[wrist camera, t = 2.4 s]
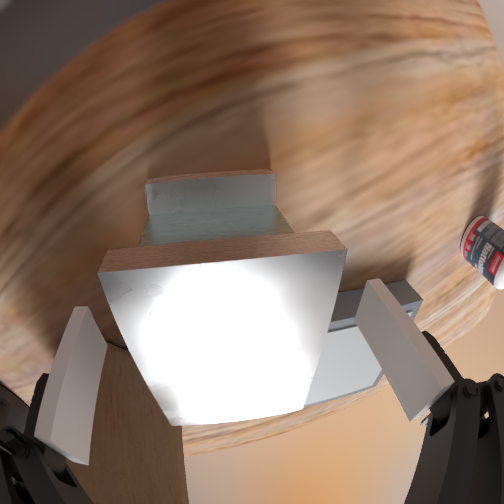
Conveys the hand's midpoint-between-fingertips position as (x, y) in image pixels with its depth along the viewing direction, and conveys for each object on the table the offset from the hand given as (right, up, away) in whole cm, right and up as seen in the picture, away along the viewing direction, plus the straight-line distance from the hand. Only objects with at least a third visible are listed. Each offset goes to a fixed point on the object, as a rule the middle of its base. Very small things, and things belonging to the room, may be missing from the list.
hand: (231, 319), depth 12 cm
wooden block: (-12, -9, +11) cm, 18 cm away
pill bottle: (+25, +5, +10) cm, 27 cm away
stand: (+8, -6, +13) cm, 17 cm away
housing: (-1, +3, +5) cm, 6 cm away
